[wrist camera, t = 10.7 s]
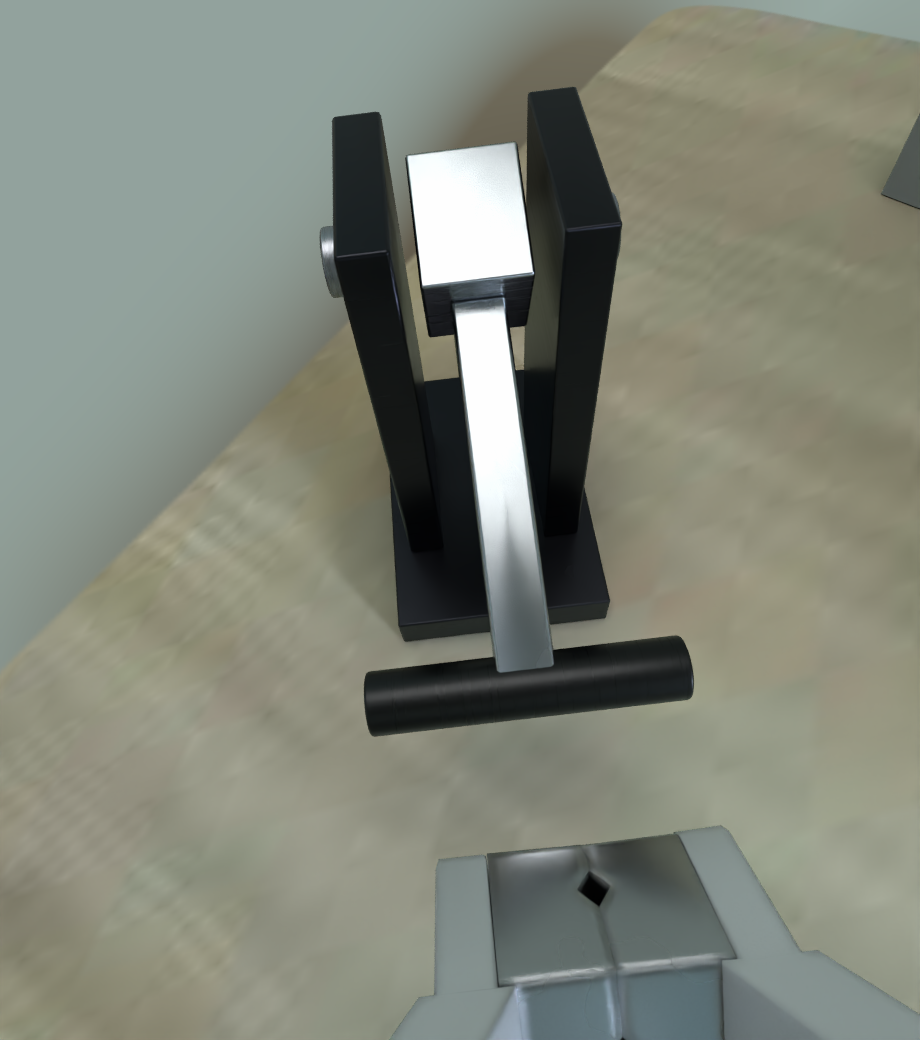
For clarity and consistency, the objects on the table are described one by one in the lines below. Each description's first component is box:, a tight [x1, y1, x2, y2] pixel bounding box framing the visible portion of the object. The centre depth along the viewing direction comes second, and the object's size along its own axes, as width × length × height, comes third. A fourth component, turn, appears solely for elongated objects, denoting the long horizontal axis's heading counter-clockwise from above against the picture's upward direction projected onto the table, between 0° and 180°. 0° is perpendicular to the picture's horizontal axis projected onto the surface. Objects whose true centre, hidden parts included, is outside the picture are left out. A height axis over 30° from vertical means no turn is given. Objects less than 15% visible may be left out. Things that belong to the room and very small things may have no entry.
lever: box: [364, 142, 694, 737], centre depth 14 cm, size 11×6×2 cm, turn 5°
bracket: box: [320, 87, 622, 641], centre depth 18 cm, size 9×6×12 cm, turn 6°
